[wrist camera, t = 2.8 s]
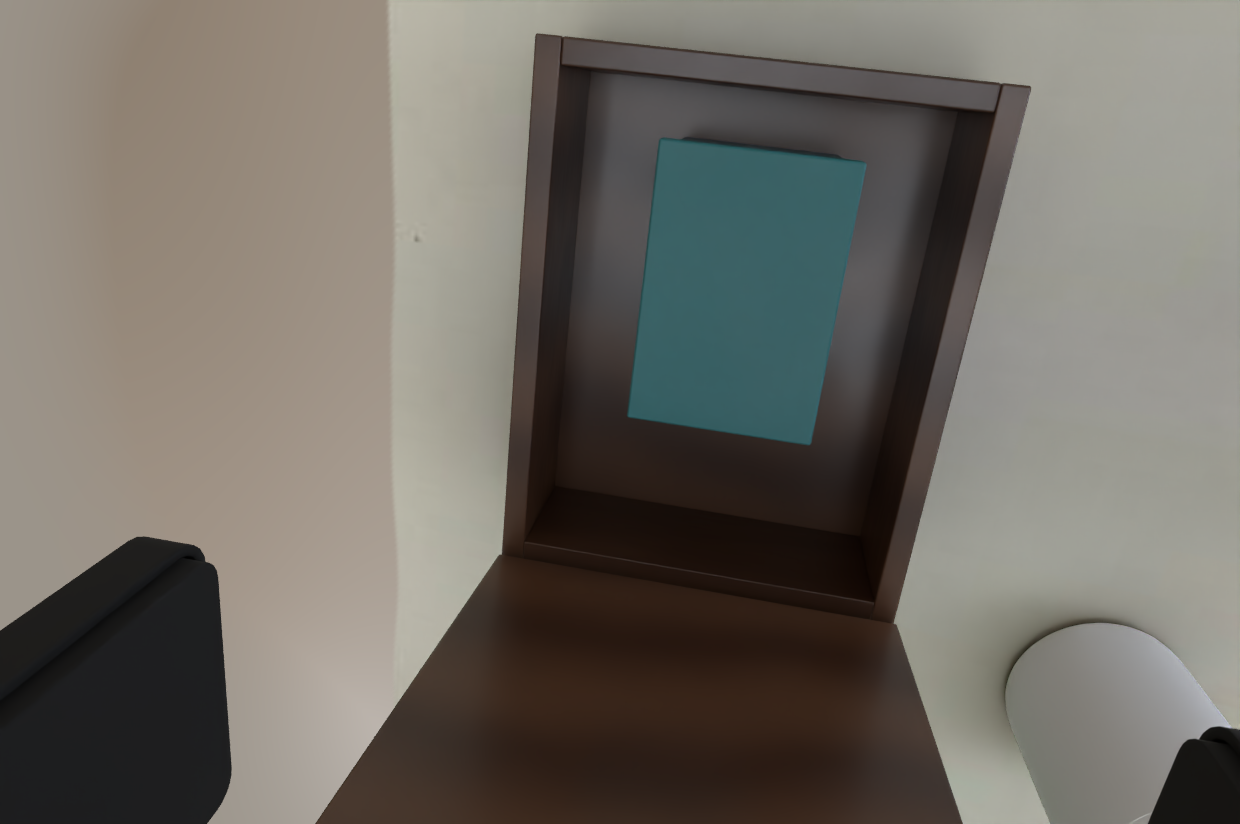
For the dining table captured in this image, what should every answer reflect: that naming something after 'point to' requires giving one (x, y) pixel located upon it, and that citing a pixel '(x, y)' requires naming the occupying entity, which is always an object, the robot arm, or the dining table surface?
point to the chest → (860, 348)
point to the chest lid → (650, 714)
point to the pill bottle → (1103, 721)
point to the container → (742, 286)
